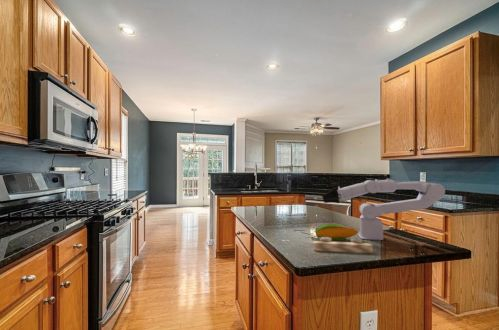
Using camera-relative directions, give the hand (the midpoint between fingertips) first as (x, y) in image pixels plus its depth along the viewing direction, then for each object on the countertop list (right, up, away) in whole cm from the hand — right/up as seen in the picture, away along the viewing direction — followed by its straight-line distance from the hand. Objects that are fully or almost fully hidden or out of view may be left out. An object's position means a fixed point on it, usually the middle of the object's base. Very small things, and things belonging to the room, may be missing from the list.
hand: (323, 199), depth 123 cm
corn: (+4, -18, -8) cm, 20 cm away
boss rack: (+1, -17, -22) cm, 28 cm away
